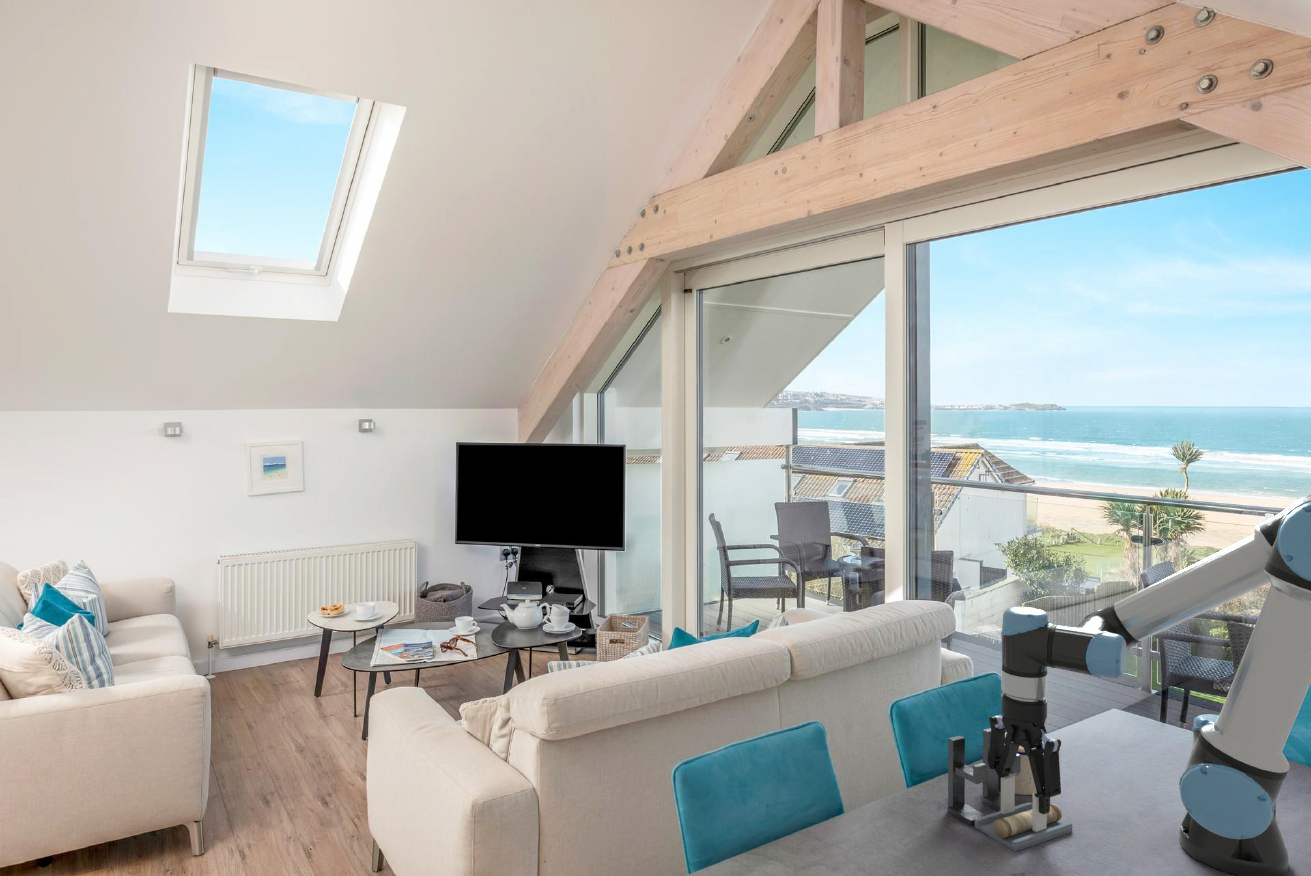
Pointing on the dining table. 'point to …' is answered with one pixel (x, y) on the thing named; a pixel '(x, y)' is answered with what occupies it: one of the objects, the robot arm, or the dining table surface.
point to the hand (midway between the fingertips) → (1023, 819)
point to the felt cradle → (1025, 837)
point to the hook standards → (972, 779)
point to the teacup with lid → (1024, 775)
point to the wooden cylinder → (1022, 822)
